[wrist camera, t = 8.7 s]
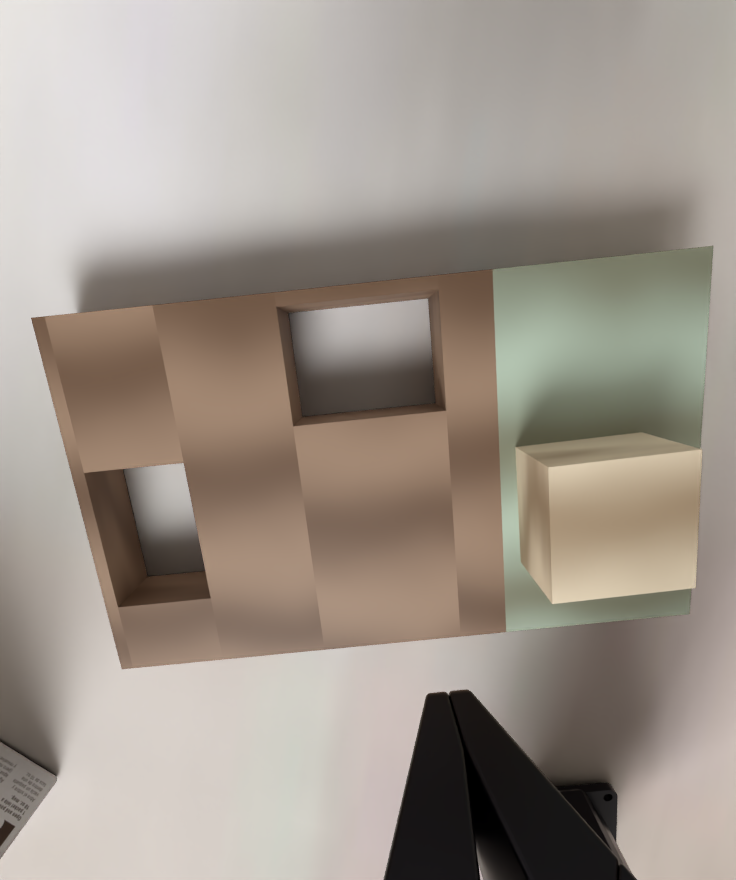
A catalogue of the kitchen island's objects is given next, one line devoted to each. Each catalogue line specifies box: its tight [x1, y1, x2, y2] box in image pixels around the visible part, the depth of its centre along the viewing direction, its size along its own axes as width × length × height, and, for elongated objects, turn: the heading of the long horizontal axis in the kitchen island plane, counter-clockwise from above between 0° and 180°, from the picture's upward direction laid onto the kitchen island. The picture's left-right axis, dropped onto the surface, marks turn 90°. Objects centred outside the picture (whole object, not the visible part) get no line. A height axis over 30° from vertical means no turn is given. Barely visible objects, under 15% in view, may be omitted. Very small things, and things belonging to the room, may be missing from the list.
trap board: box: [31, 246, 713, 669], centre depth 18 cm, size 15×25×2 cm, turn 96°
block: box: [515, 432, 702, 604], centre depth 15 cm, size 5×5×3 cm
